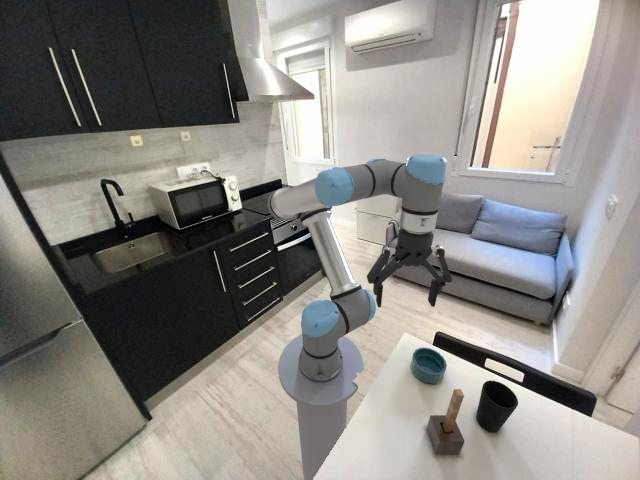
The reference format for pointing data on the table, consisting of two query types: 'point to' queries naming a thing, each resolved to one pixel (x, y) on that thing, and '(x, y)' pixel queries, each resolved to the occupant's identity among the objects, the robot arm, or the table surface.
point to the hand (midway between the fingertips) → (404, 303)
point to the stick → (452, 410)
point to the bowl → (428, 365)
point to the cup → (495, 406)
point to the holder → (444, 437)
